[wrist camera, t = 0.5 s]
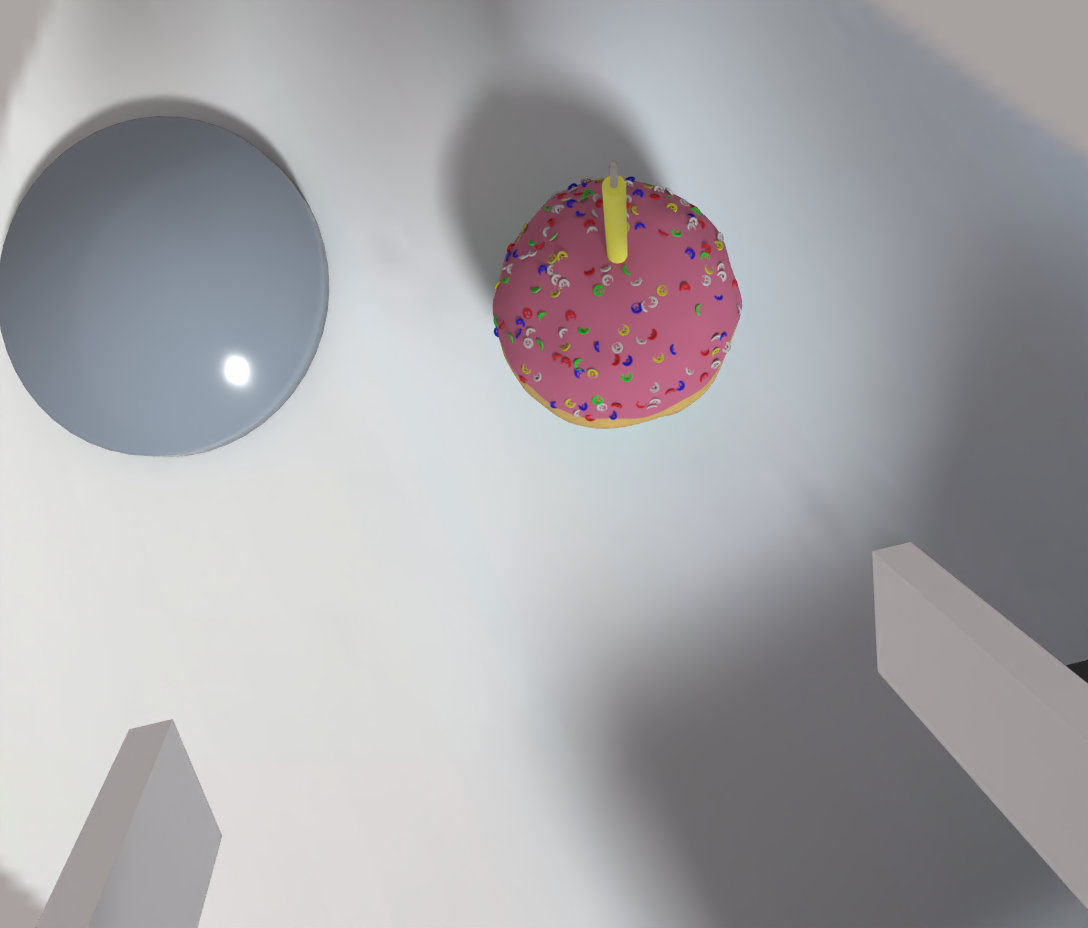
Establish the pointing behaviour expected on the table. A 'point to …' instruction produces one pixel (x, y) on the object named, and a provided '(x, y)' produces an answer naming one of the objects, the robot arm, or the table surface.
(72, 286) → the slate plate
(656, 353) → the cupcake
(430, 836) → the table surface
